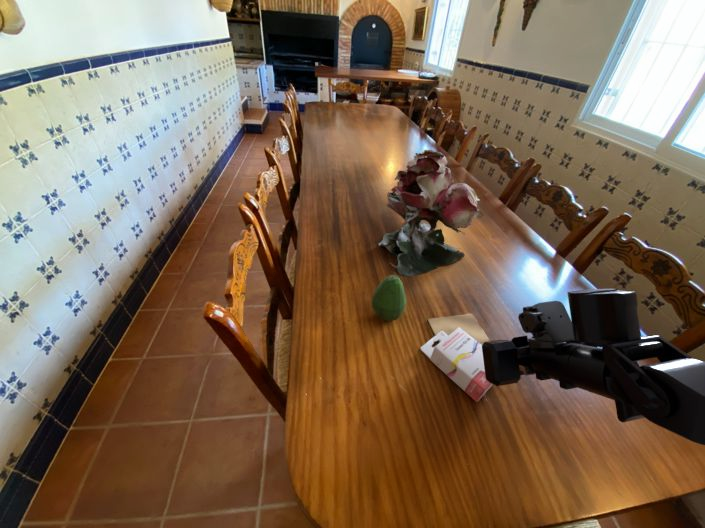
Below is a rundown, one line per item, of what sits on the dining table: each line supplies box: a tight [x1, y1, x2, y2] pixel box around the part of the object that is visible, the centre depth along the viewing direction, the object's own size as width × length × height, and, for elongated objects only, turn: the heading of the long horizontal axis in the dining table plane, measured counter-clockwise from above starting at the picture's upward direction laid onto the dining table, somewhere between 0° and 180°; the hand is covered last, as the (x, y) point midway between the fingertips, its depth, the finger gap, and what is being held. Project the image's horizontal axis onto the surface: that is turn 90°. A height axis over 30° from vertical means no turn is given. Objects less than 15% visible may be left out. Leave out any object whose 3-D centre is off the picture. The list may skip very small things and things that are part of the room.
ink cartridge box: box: [420, 327, 494, 403], centre depth 61 cm, size 9×5×15 cm
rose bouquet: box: [377, 149, 484, 277], centre depth 87 cm, size 26×29×30 cm
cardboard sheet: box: [426, 313, 491, 345], centre depth 67 cm, size 16×12×1 cm
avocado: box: [371, 274, 407, 322], centre depth 69 cm, size 8×8×12 cm
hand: (504, 345), depth 54 cm, fingers closed
